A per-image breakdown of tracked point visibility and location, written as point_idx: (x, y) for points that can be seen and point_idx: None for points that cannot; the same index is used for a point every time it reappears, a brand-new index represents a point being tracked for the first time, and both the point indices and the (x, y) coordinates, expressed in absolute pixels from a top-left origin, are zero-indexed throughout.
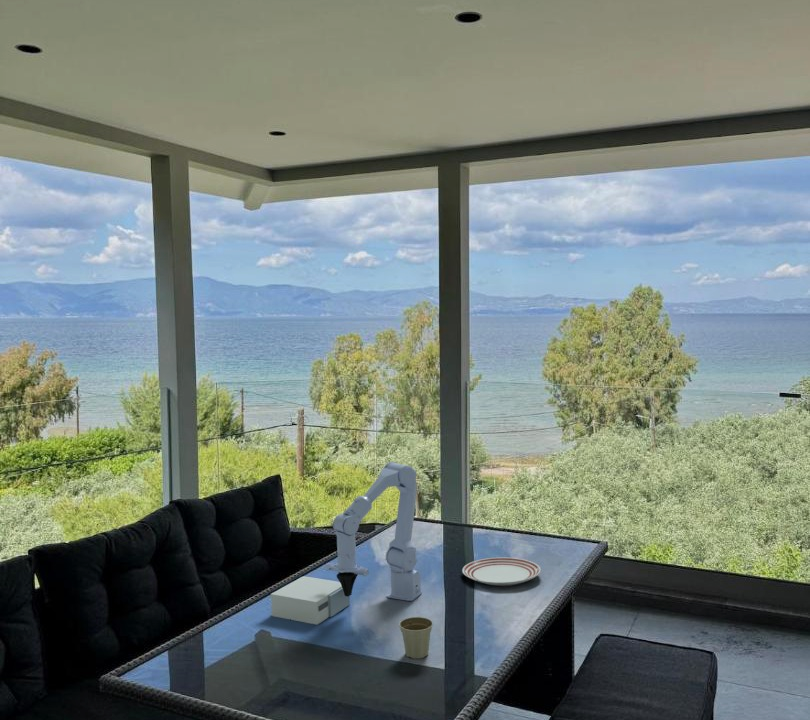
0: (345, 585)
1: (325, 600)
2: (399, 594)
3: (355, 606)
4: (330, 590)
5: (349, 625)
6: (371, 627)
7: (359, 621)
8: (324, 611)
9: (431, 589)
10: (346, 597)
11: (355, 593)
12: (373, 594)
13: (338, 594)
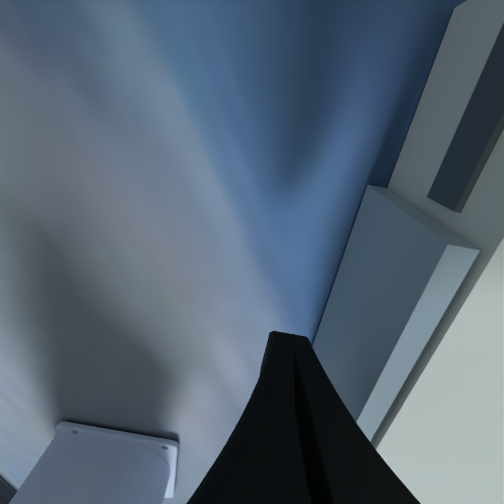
0: (295, 421)
1: (491, 180)
2: (108, 453)
3: None
4: (474, 371)
5: (191, 76)
6: (32, 84)
7: (160, 166)
8: (439, 138)
9: None
10: None
11: None
12: None
13: (371, 347)
